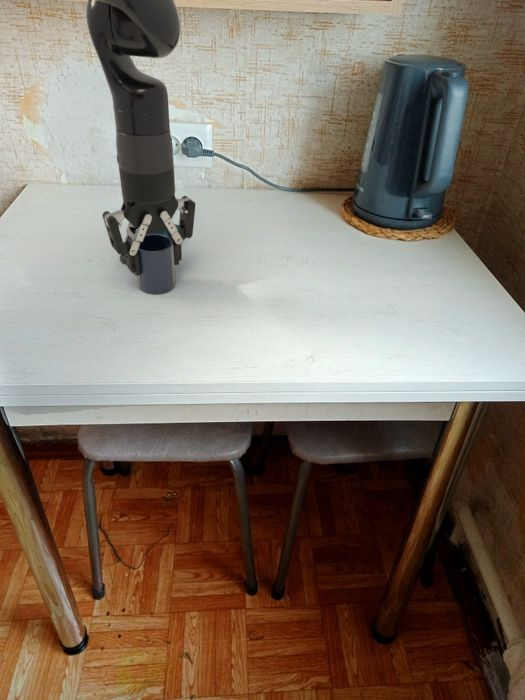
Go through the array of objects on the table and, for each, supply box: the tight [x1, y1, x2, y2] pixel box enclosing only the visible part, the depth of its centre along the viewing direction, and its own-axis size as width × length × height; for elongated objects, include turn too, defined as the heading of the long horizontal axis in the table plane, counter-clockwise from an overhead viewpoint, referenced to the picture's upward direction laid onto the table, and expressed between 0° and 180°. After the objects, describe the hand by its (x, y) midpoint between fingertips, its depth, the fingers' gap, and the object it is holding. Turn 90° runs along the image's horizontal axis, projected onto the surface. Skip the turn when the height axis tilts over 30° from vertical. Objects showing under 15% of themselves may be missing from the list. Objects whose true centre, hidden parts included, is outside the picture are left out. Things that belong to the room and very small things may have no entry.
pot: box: [136, 234, 177, 295], centre depth 81 cm, size 6×6×8 cm
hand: (155, 267), depth 81 cm, fingers closed on pot, 6 cm apart
